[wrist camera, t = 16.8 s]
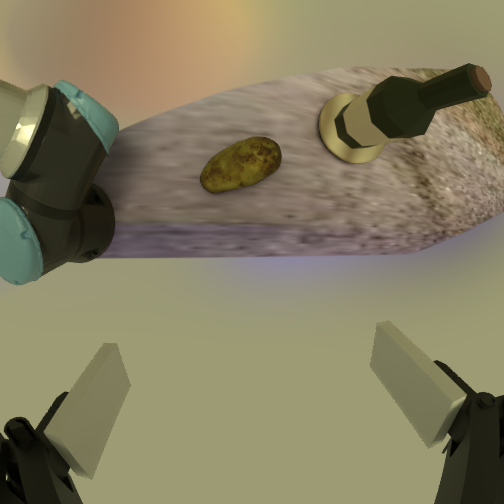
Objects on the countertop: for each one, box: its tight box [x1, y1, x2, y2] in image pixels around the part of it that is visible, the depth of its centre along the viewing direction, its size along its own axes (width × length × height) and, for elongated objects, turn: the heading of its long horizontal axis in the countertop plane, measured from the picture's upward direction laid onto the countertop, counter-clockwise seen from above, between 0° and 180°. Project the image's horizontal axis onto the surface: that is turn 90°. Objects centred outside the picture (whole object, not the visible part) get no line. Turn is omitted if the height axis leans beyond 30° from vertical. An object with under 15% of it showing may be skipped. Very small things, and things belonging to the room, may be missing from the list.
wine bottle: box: [334, 63, 492, 149], centre depth 28 cm, size 8×8×30 cm
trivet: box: [319, 93, 385, 163], centre depth 44 cm, size 13×13×3 cm
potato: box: [200, 137, 282, 193], centre depth 42 cm, size 8×13×8 cm, turn 95°
